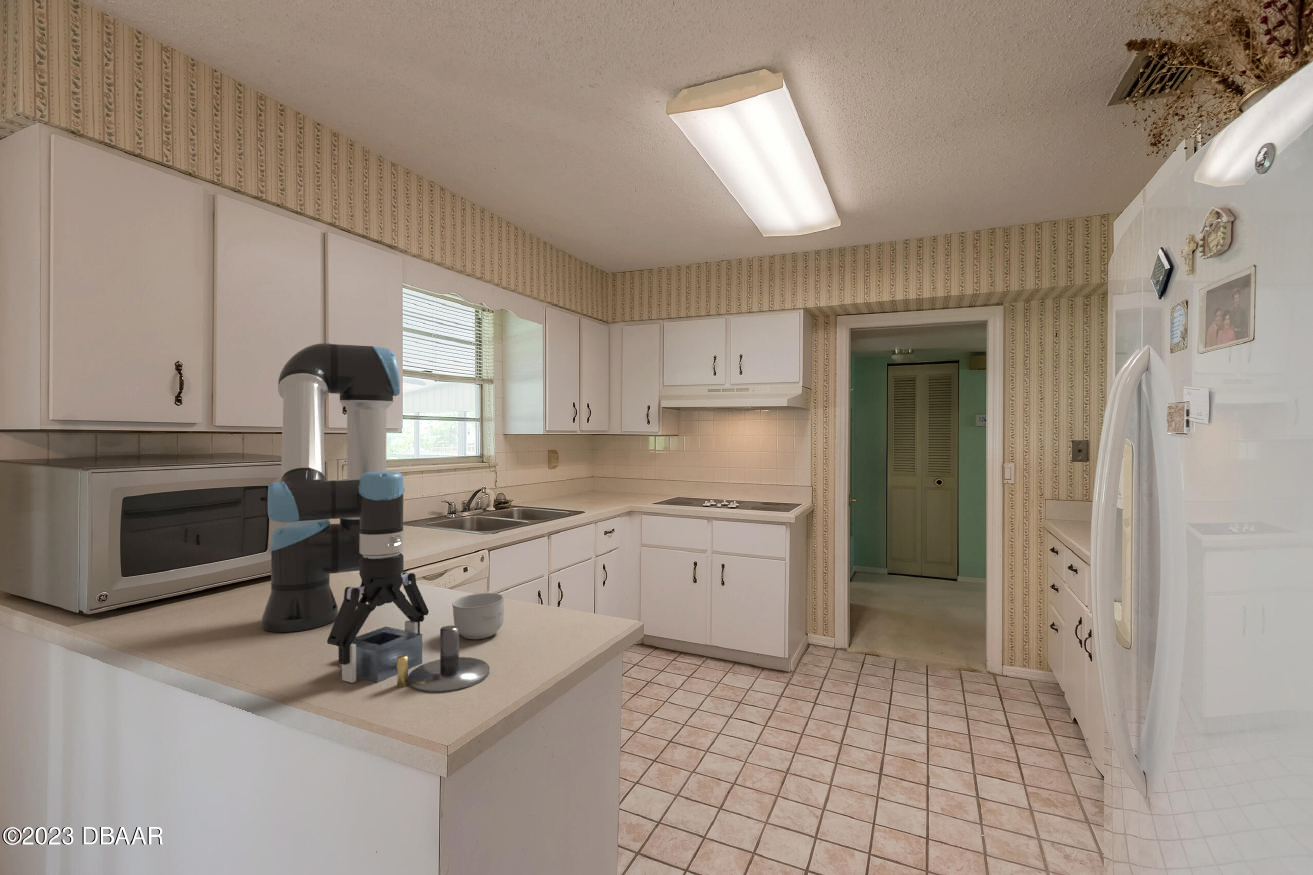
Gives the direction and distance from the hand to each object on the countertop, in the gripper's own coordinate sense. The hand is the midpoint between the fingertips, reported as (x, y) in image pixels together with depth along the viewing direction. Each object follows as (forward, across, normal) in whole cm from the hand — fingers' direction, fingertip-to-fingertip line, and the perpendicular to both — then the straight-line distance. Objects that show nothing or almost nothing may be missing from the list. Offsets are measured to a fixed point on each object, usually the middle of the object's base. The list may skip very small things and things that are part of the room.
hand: (381, 667), depth 111 cm
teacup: (0, +24, -3) cm, 24 cm away
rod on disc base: (0, +3, -14) cm, 14 cm away
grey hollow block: (0, 0, +3) cm, 3 cm away
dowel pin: (0, -4, -10) cm, 10 cm away
